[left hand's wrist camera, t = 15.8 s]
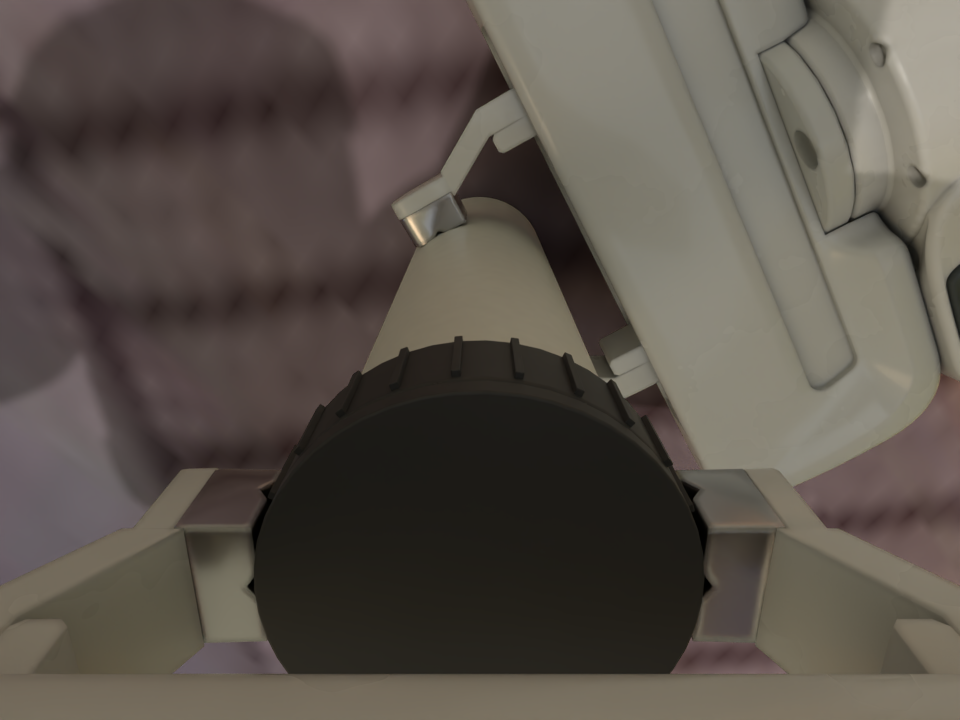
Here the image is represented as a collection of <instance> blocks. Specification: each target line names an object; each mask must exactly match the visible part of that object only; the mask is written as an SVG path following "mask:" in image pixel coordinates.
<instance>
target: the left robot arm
mask: <svg viewBox="0 0 960 720" xmlns="http://www.w3.org/2000/svg"><path fill="white" fill-rule="evenodd" d="M280 472H281V470H265V469H218V468H196V469H184V470H181V471H180V472H179V473H178V474H177V475H176V477H175V478H174V479H173V480H172V481H171V483H170V484H169V485H168V486H167V487H166V489H165V490H164V491H163V492H162V494H161V495H160V496H159V497H158V498H157V500H156V501H155V502H154V503H153V504H152V506H151V507H150V508H149V509H148V510H147V512H146V513H145V514H144V515H143V517H142V518H141V519H140V520H139V521H138V523H137V524H136V525H135V526H134V527H133V528H127V529H120V530H118V531H115V532H113V533H111V534H109V535H107V536H105V537H103V538H101V539H98V540H96V541H94V542H92V543H90V544H88V545H86V546H84V547H81V548H79V549H77V550H75V551H73V552H71V553H69V554H67V555H64V556H62V557H60V558H58V559H56V560H54V561H52V562H50V563H47V564H45V565H43V566H41V567H39V568H37V569H35V570H33V571H31V572H28V573H26V574H24V575H22V576H20V577H18V578H16V579H14V580H11V581H9V582H7V583H5V584H3V585H1V586H0V720H960V586H958V585H956V584H954V583H952V582H950V581H948V580H946V579H944V578H942V577H939V576H937V575H935V574H933V573H931V572H929V571H927V570H925V569H923V568H920V567H918V566H916V565H914V564H912V563H910V562H908V561H906V560H904V559H901V558H899V557H897V556H895V555H893V554H891V553H889V552H887V551H884V550H882V549H880V548H878V547H876V546H874V545H872V544H870V543H868V542H865V541H863V540H861V539H859V538H857V537H855V536H853V535H851V534H849V533H846V532H844V531H842V530H840V529H833V528H826V527H825V525H824V524H823V523H822V522H821V521H820V519H819V518H818V517H817V516H816V515H815V513H814V512H813V511H812V510H811V508H810V507H809V506H808V505H807V504H806V502H805V501H804V500H803V499H802V498H801V496H800V495H799V494H798V493H797V492H796V490H795V489H794V488H793V487H792V486H791V484H790V483H789V482H788V481H787V479H786V478H785V477H784V476H783V475H782V473H781V472H780V471H779V470H776V469H774V468H756V469H710V470H676V471H675V472H676V474H677V476H678V477H679V479H680V481H681V483H682V485H683V487H684V489H685V491H686V493H687V494H688V496H689V498H690V500H691V502H692V504H693V506H694V510H695V511H694V512H691V513H692V516H693V519H694V521H695V524H696V526H697V529H698V533H699V537H700V542H701V546H702V551H703V560H704V588H703V597H702V605H701V608H700V612H699V616H698V619H697V623H696V627H695V629H694V631H693V634H692V636H691V637H692V640H693V641H707V642H744V643H756V644H755V646H756V647H758V648H759V649H760V650H761V651H762V652H763V653H765V654H766V655H767V656H768V657H769V658H770V659H772V660H773V661H774V662H775V663H776V664H777V665H779V666H780V667H781V668H782V669H783V670H784V671H786V672H787V673H788V674H172V673H173V672H174V671H176V670H177V669H178V668H179V667H180V666H182V665H183V664H184V663H185V662H186V661H187V660H189V659H190V658H191V657H192V656H193V655H194V654H196V653H197V652H198V651H199V650H200V649H201V648H203V647H204V643H216V642H251V641H267V640H268V639H267V637H266V634H265V632H264V629H263V626H262V623H261V620H260V617H259V614H258V608H257V603H256V597H255V592H254V559H255V552H256V545H257V539H258V536H259V533H260V530H261V526H262V523H263V520H264V517H265V515H266V513H267V511H268V509H269V507H270V505H271V503H272V501H273V500H272V499H269V498H268V495H269V492H270V490H271V489H272V487H273V485H274V483H275V481H276V479H277V477H278V476H279V474H280Z"/></svg>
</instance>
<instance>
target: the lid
mask: <svg viewBox="0 0 960 720" xmlns="http://www.w3.org/2000/svg"><path fill="white" fill-rule="evenodd" d="M672 465H673V463H672V461H671V459H670V457H669V455H668V453H667V452H666V450H665V448H664V446H663V444H662V442H661V440H660V439H659V437H658V435H657V433H656V431H655V429H654V427H653V425H652V424H651V422H650V420H649V418H648V417H647V416H646V415H645V416H643V417H642V418H641V417H640V416H639V415H638V414H637V412H636V411H635V410H634V409H633V407H632V406H631V405H630V404H629V403H628V401H627V400H626V399H624V398H623V396H622V394H621V392H620V390H619V388H618V386H617V384H616V382H614V381H613V380H612V379H610V380H609V381H608V382H605V381H604V380H602V379H601V378H599V377H598V376H597V375H595V374H594V373H592V372H591V371H589V370H588V369H586V368H584V367H582V366H580V365H578V364H576V363H574V360H573V357H572V355H571V354H568V353H566V352H565V353H564V354H563V356H562V357H561V356H559V355H556V354H553V353H550V352H548V351H545V350H542V349H539V348H534V347H530V346H525V345H521V344H520V343H519V339H518V338H511V340H510V343H509V342H499V341H489V340H480V341H463V336H455V337H454V342H450V343H443V344H437V345H431V346H428V347H424V348H421V349H417V350H414V351H409V349H408V347H405V348H402V349H400V352H399V355H398V356H397V357H395V358H392V359H390V360H388V361H385V362H383V363H381V364H379V365H378V366H376V367H374V368H373V369H371V370H369V371H368V372H366V373H364V374H363V375H362V374H361V372H360V371H357V372H356V373H354V374H353V376H352V378H351V380H350V382H349V384H348V386H347V387H346V388H344V389H343V390H342V391H341V392H340V393H339V394H338V395H337V396H336V397H335V398H334V399H333V400H332V401H331V402H330V403H329V404H328V405H327V406H326V407H324V406H323V405H321V404H320V405H319V407H318V408H317V409H316V411H315V413H314V415H313V417H312V418H311V420H310V422H309V424H308V426H307V428H306V430H305V431H304V433H303V435H302V437H301V439H300V441H299V443H298V445H295V446H294V448H293V450H292V452H291V453H290V455H289V457H288V459H287V461H286V463H285V465H284V466H283V468H282V470H281V472H280V474H279V476H278V477H277V479H276V481H275V483H274V485H273V487H272V489H271V490H270V492H269V495H268V498H269V499H272V500H273V501H272V503H271V505H270V507H269V509H268V511H267V513H266V515H265V517H264V520H263V523H262V526H261V530H260V533H259V536H258V539H257V545H256V552H255V559H254V592H255V597H256V603H257V608H258V614H259V617H260V620H261V623H262V626H263V629H264V632H265V634H266V637H267V639H268V641H269V643H270V645H271V647H272V649H273V651H274V653H275V655H276V656H277V658H278V660H279V661H280V663H281V664H282V665H283V667H284V668H285V670H286V671H287V672H288V674H670V673H671V671H672V670H673V669H674V667H675V666H676V664H677V662H678V661H679V659H680V658H681V656H682V654H683V653H684V651H685V650H686V647H687V645H688V643H689V641H690V638H691V636H692V634H693V631H694V629H695V627H696V623H697V619H698V616H699V612H700V608H701V605H702V597H703V588H704V560H703V551H702V546H701V542H700V537H699V533H698V529H697V526H696V524H695V521H694V519H693V516H692V513H691V512H694V511H695V510H694V506H693V504H692V502H691V500H690V498H689V496H688V494H687V493H686V491H685V489H684V487H683V485H682V483H681V481H680V479H679V477H678V476H677V474H676V472H675V470H674V468H673V466H672Z"/></svg>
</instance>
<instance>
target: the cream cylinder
mask: <svg viewBox="0 0 960 720" xmlns="http://www.w3.org/2000/svg"><path fill="white" fill-rule="evenodd" d="M461 201H462V203H463V205H464V207H465V209H466V211H467V216H466V217H467V221H466V222H464V223H462V224H461V225H459V226H457V227H455V228H454V229H451V230H449V231H447V232H441V231H438V232H437V234H436V236H435V238H434V239H432V240H431V241H430V242H428V243H427V244H425V245H423V246H420V247H417V248H416V250H415V252H414V255H413V257H412V259H411V262H410V264H409V266H408V268H407V271H406V273H405V275H404V277H403V280H402V282H401V284H400V287H399V289H398V291H397V293H396V296H395V298H394V300H393V303H392V305H391V307H390V309H389V312H388V314H387V316H386V319H385V321H384V323H383V325H382V328H381V330H380V332H379V335H378V337H377V339H376V341H375V344H374V346H373V348H372V351H371V353H370V355H369V357H368V360H367V362H366V364H365V367H364V369H363V371H362V373H361V374H362V375H363V374H364V373H366V372H368V371H369V370H371V369H373V368H374V367H376V366H378V365H379V364H381V363H383V362H385V361H388V360H390V359H392V358H395V357H397V356H398V355H399V352H400V349H402V348H405V347H408V349H409V351H414V350H417V349H421V348H424V347H428V346H431V345H437V344H443V343H450V342H454V337H455V336H463V341H480V340H489V341H499V342H509V343H510V340H511V338H518V339H519V343H520V344H521V345H525V346H530V347H534V348H539V349H542V350H545V351H548V352H550V353H553V354H556V355H559V356H561V357H562V356H563V354H564V353H565V352H566V353H568V354H571V355H572V357H573V360H574V363H576V364H578V365H580V366H582V367H584V368H586V369H588V370H589V371H591V372H592V373H594V374H595V375H597V373H596V370H595V368H594V366H593V364H592V361H591V359H590V357H589V354H588V352H587V350H586V347H585V345H584V343H583V340H582V338H581V336H580V334H579V331H578V329H577V327H576V324H575V322H574V320H573V317H572V315H571V313H570V310H569V308H568V306H567V304H566V301H565V299H564V297H563V294H562V292H561V290H560V287H559V285H558V283H557V280H556V278H555V276H554V273H553V271H552V269H551V267H550V264H549V262H548V260H547V257H546V255H545V253H544V250H543V248H542V246H541V243H540V241H539V239H538V237H537V234H536V232H535V230H534V228H533V227H532V225H531V223H530V222H529V221H528V220H527V218H526V217H525V216H524V215H523V214H522V213H521V212H520V211H518V210H517V209H516V208H514V207H513V206H511V205H509V204H507V203H505V202H503V201H500V200H497V199H493V198H487V197H471V198H466V199H462V200H461ZM597 376H598V375H597Z"/></svg>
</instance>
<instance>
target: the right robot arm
mask: <svg viewBox="0 0 960 720" xmlns="http://www.w3.org/2000/svg"><path fill="white" fill-rule="evenodd" d="M466 2H467V4H468V6H469V8H470V10H471V12H472V14H473V16H474V18H475V20H476V22H477V24H478V26H479V28H480V30H481V32H482V34H483V36H484V38H485V40H486V42H487V44H488V46H489V48H490V50H491V52H492V54H493V56H494V58H495V60H496V62H497V64H498V66H499V68H500V70H501V72H502V74H503V76H504V78H505V80H506V82H507V84H508V86H509V88H510V90H508V91H507V92H505V93H503V94H502V95H500V96H498V97H497V98H495V99H493V100H492V101H490V102H488V103H486V104H485V105H483V106H481V107H480V108H478V109H476V111H475V112H474V114H473V116H472V118H471V119H470V121H469V123H468V125H467V126H466V128H465V130H464V132H463V133H462V135H461V137H460V139H459V140H458V142H457V144H456V146H455V148H454V149H453V151H452V153H451V155H450V156H449V158H448V160H447V162H446V163H445V165H444V167H443V169H442V170H441V173H440V174H438V175H437V176H435V177H433V178H431V179H430V180H428V181H426V182H425V183H423V184H421V185H419V186H418V187H416V188H414V189H412V190H411V191H409V192H407V193H406V194H404V195H403V196H401V197H400V198H398V199H397V200H395V201H394V202H393V203H392V205H391V206H392V208H393V210H394V212H395V214H396V216H397V217H398V219H399V220H400V222H401V224H402V225H403V227H404V228H405V230H406V232H407V233H408V235H409V237H410V238H411V240H412V242H413V243H414V245H415V246H416V247H420V246H423V245H425V244H427V243H428V242H430V241H431V240H432V239H434V238H435V236H436V234H437V232H438V231H441V232H447V231H449V230H451V229H454V228H455V227H457V226H459V225H461V224H462V223H464V222H466V221H467V217H466V216H467V211H466V209H465V207H464V205H463V203H462V201H461V199H460V197H459V195H458V193H457V191H458V189H459V188H460V186H461V184H462V182H463V181H464V179H465V177H466V176H467V174H468V172H469V171H470V169H471V167H472V165H473V164H474V162H475V160H476V159H477V157H478V155H479V153H480V152H481V150H482V148H483V147H484V145H485V143H486V141H487V140H488V138H489V137H490V136H491V137H492V140H493V142H494V144H495V146H496V148H497V149H498V151H499V152H501V153H505V152H507V151H509V150H511V149H512V148H514V147H516V146H518V145H520V144H521V143H523V142H525V141H527V140H529V139H531V138H532V137H534V139H535V141H536V143H537V145H538V147H539V149H540V151H541V153H542V155H543V157H544V159H545V161H546V163H547V165H548V167H549V169H550V171H551V173H552V175H553V177H554V179H555V181H556V183H557V185H558V187H559V189H560V191H561V193H562V195H563V197H564V199H565V201H566V203H567V205H568V207H569V209H570V211H571V213H572V215H573V217H574V219H575V221H576V223H577V225H578V227H579V229H580V231H581V233H582V235H583V237H584V239H585V241H586V243H587V245H588V247H589V249H590V251H591V253H592V255H593V257H594V259H595V261H596V263H597V265H598V267H599V269H600V271H601V273H602V275H603V277H604V279H605V281H606V283H607V285H608V287H609V289H610V291H611V293H612V295H613V297H614V299H615V301H616V303H617V305H618V307H619V309H620V311H621V313H622V315H623V317H624V319H625V321H626V323H627V326H625V327H623V328H621V329H619V330H617V331H615V332H613V333H612V334H610V335H608V336H606V337H604V338H602V339H600V341H599V345H600V347H601V349H602V351H603V353H604V356H589V357H590V359H591V361H592V364H593V366H594V368H595V370H596V373H597V375H598V377H599V378H601V379H602V380H604V381H605V382H608V381H609V380H610V379H612V380H613V381H614V382H616V384H617V386H618V388H619V390H620V392H621V394H622V396H623V398H627V397H629V396H631V395H633V394H635V393H637V392H639V391H641V390H643V389H646V388H648V387H650V386H652V385H654V384H656V383H657V385H658V387H659V389H660V391H661V393H662V395H663V397H664V399H665V401H666V403H667V405H668V407H669V409H670V412H671V414H672V416H673V418H674V420H675V422H676V424H677V426H678V428H679V430H680V432H681V434H682V436H683V438H684V440H685V442H686V444H687V446H688V448H689V449H690V451H691V453H692V455H693V457H694V459H695V460H696V462H697V464H698V466H699V468H700V469H701V470H710V469H756V468H774V469H776V470H779V471H780V472H781V473H782V475H783V476H784V477H785V478H786V479H787V481H788V482H789V483H790V484H791V486H792V487H794V486H796V485H798V484H801V483H803V482H805V481H807V480H810V479H812V478H814V477H816V476H818V475H820V474H822V473H824V472H827V471H829V470H831V469H833V468H835V467H837V466H839V465H841V464H843V463H845V462H847V461H849V460H851V459H853V458H855V457H857V456H859V455H861V454H862V453H864V452H866V451H868V450H870V449H872V448H873V447H875V446H877V445H879V444H881V443H883V442H884V441H886V440H888V439H889V438H891V437H893V436H894V435H896V434H898V433H899V432H901V431H902V430H903V429H905V428H906V427H907V426H909V425H910V424H911V423H912V422H914V421H915V420H916V419H917V418H918V417H919V416H920V415H921V414H922V413H923V412H924V410H925V409H926V408H927V407H928V405H929V404H930V403H931V401H932V399H933V397H934V395H935V393H936V391H937V388H938V385H939V381H940V373H942V374H944V375H946V376H949V377H951V378H953V379H955V380H958V381H960V0H466Z"/></svg>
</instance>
